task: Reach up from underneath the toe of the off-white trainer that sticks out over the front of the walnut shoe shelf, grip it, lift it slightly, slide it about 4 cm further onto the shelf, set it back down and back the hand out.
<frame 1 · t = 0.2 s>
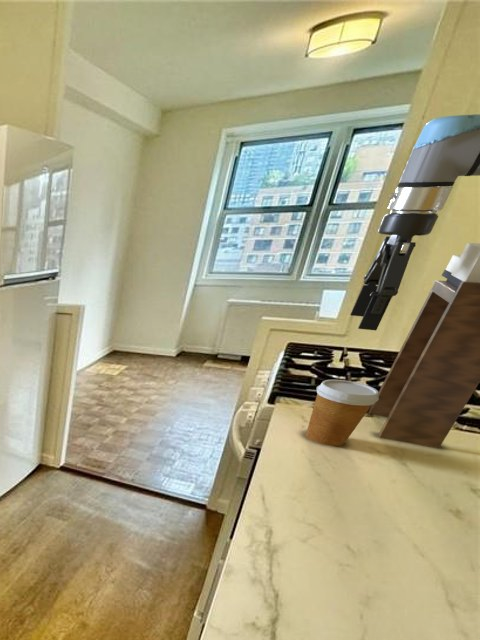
hand: (362, 322, 103), 22 cm above the worktop, tool pointing down, fingers open, 13 cm apart
disposable coffee cup: (323, 440, 103), on the worktop
shoe shelf: (400, 429, 106), on the worktop
trainer: (468, 282, 97), point 30 cm above the worktop, touching shoe shelf
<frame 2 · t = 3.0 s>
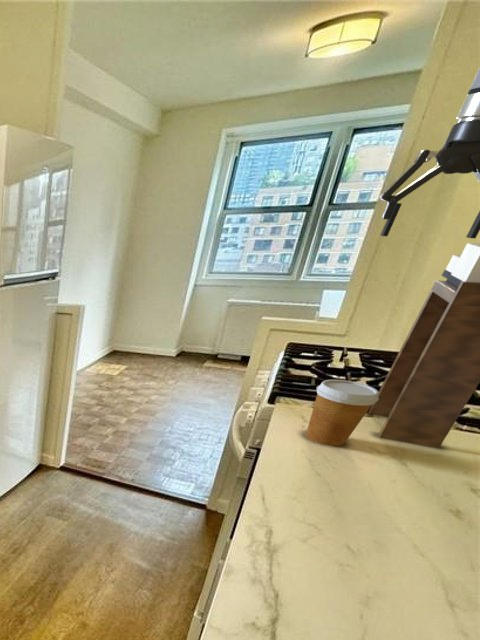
hand: (425, 236, 105), 37 cm above the worktop, tool pointing down, fingers open, 13 cm apart
nothing on the worktop moved.
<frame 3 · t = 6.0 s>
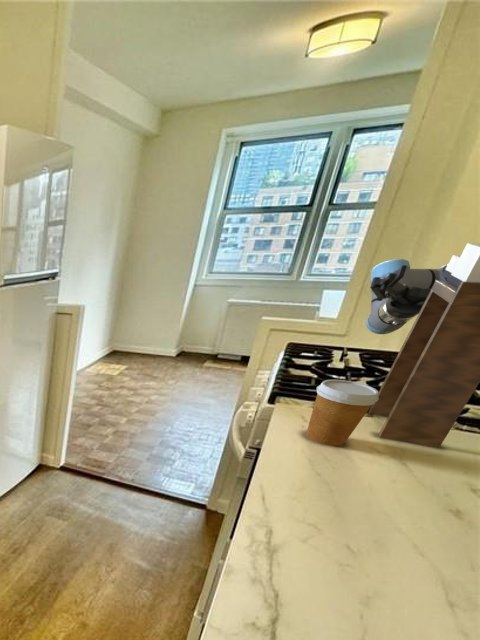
hand: (444, 273, 110), 29 cm above the worktop, tool pointing upward, fingers open, 13 cm apart
nothing on the worktop moved.
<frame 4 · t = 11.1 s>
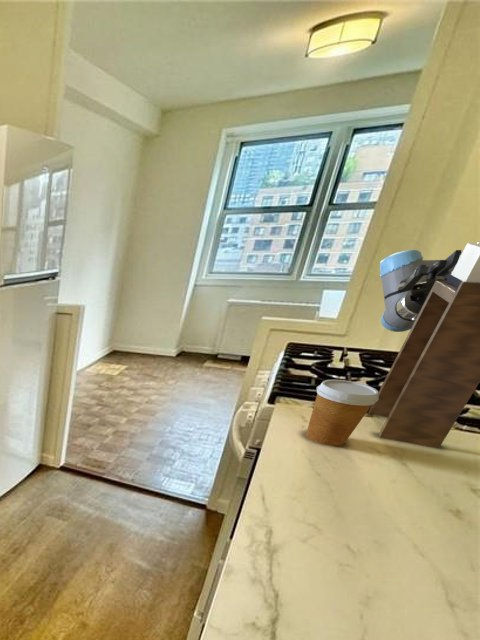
hand: (479, 257, 96), 35 cm above the worktop, tool pointing upward, fingers closed on trainer, 6 cm apart
trainer: (468, 282, 97), point 30 cm above the worktop, touching gripper, shoe shelf
everything else where it was.
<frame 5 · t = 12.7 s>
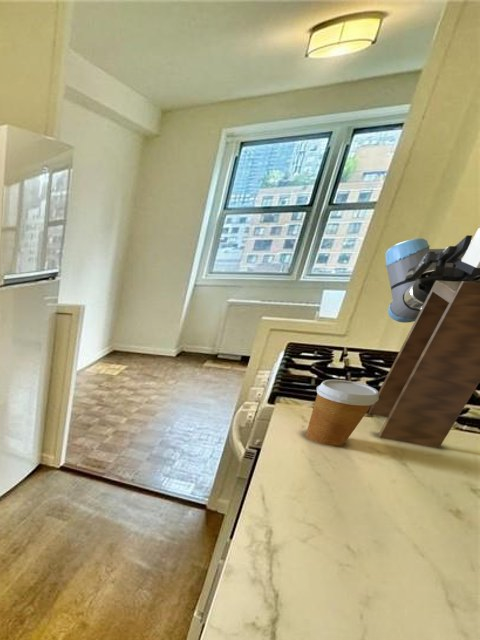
trainer: (479, 269, 94), point 33 cm above the worktop, touching gripper
everything else where it was.
when the fingers open (35 cm above the worktop, at t = 14.4 s): trainer stays where it is, resting on shoe shelf.
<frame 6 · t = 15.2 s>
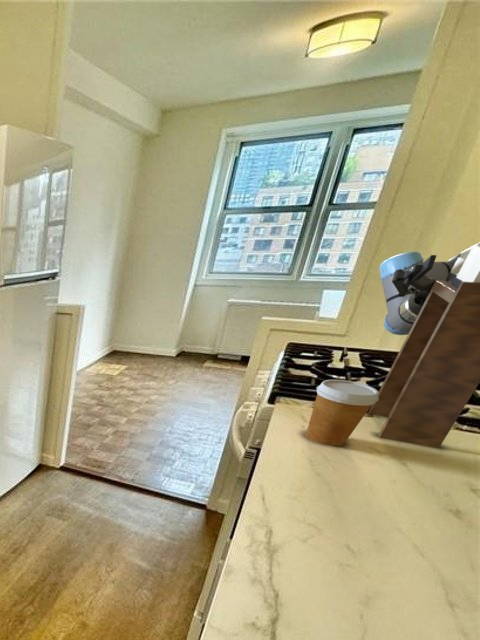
trainer: (474, 286, 94), point 30 cm above the worktop, touching shoe shelf
everything else where it was.
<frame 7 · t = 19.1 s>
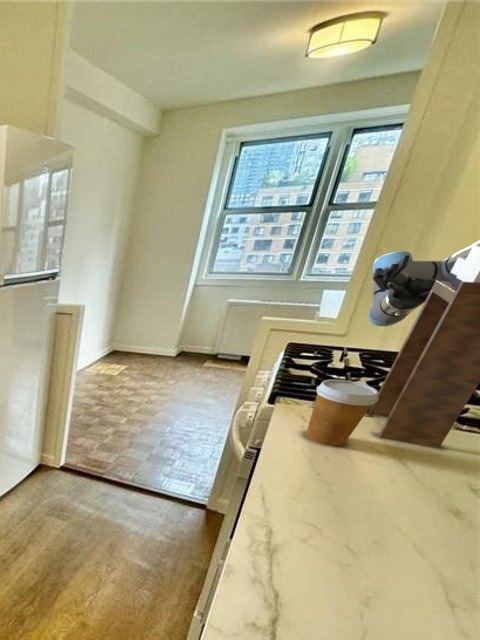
hand: (446, 262, 110), 32 cm above the worktop, tool pointing upward, fingers open, 13 cm apart
nothing on the worktop moved.
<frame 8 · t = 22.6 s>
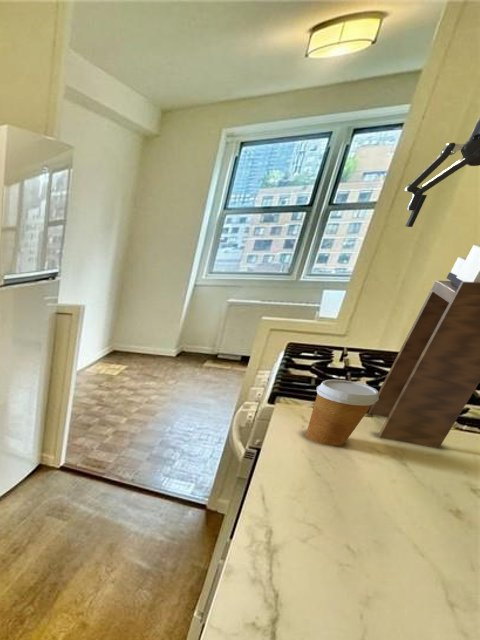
hand: (450, 227, 108), 39 cm above the worktop, tool pointing down, fingers open, 13 cm apart
nothing on the worktop moved.
at the end: trainer 0.2 cm from the target spot, point 30.0 cm above the worktop; trainer tilted 0°; the gripper is holding nothing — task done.
